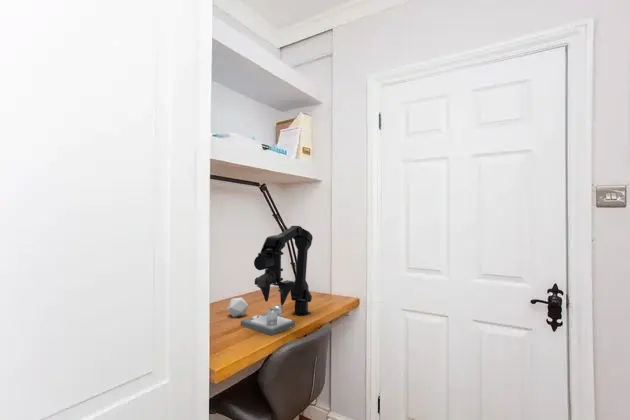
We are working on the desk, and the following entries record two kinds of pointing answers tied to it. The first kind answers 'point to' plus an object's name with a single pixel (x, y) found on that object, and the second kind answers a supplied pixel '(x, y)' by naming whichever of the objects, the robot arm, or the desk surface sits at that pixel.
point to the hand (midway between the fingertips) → (274, 303)
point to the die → (237, 307)
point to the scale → (261, 324)
